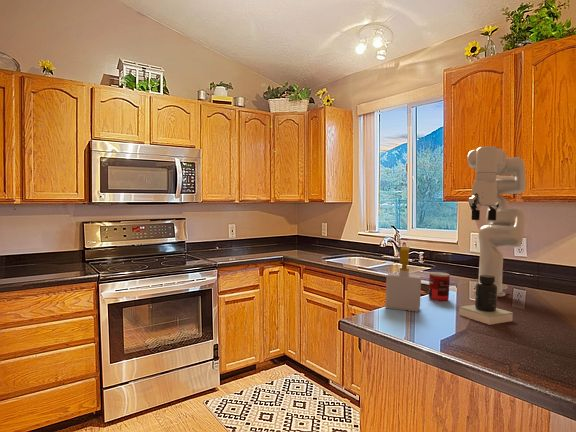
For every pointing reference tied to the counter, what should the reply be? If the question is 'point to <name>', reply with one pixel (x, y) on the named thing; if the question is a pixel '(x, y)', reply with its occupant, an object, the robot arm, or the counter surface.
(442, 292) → the canned food
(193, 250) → the counter surface
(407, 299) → the soap bottle
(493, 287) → the supplement bottle
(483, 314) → the plate
